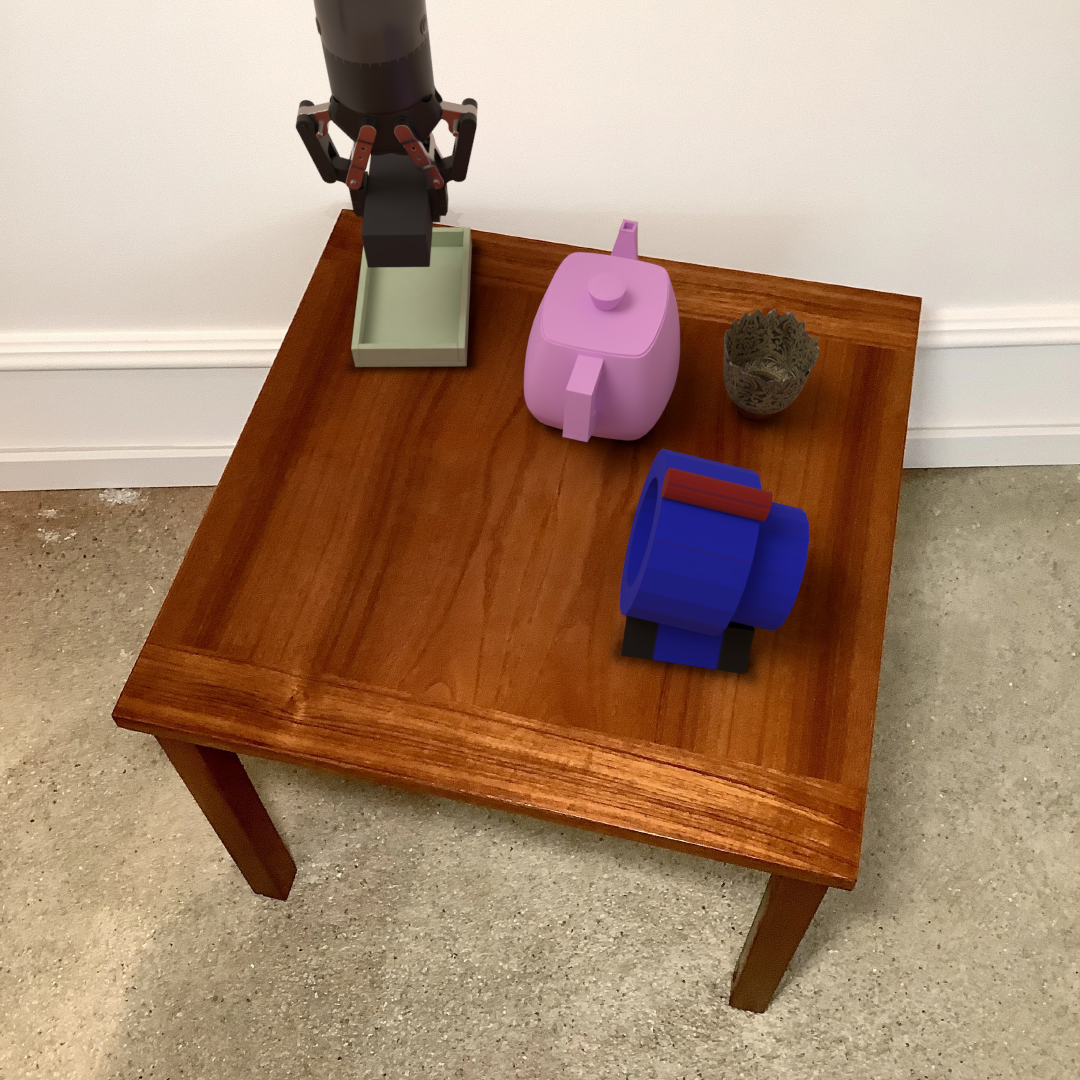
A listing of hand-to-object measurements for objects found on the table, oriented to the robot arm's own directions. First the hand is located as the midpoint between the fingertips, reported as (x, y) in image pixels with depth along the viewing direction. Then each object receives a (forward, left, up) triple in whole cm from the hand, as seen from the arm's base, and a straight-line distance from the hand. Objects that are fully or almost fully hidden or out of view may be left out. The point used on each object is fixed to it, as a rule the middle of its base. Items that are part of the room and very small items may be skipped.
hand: (402, 215), depth 90 cm
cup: (+29, -12, -11) cm, 34 cm away
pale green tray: (0, 0, -10) cm, 10 cm away
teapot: (+16, -10, -11) cm, 22 cm away
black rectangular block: (0, 0, 0) cm, 0 cm away
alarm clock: (+23, -30, -11) cm, 40 cm away
